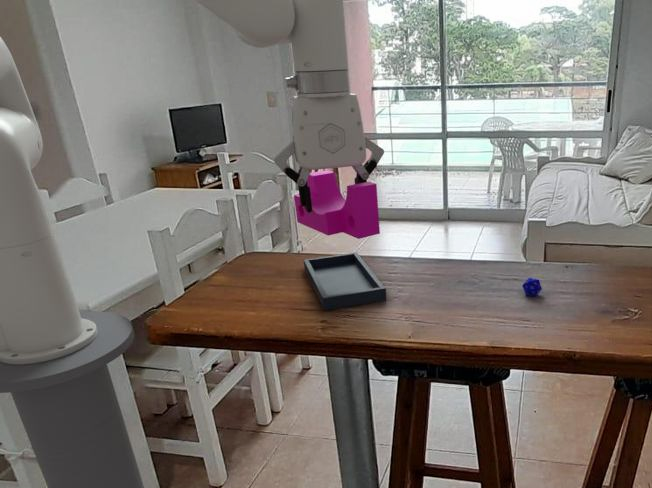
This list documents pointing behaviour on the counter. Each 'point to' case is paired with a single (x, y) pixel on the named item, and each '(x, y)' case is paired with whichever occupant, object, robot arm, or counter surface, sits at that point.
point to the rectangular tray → (343, 281)
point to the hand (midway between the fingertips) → (335, 206)
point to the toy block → (340, 207)
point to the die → (532, 287)
